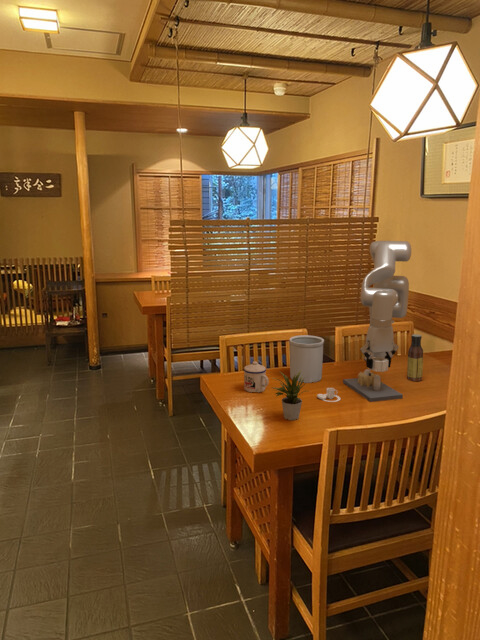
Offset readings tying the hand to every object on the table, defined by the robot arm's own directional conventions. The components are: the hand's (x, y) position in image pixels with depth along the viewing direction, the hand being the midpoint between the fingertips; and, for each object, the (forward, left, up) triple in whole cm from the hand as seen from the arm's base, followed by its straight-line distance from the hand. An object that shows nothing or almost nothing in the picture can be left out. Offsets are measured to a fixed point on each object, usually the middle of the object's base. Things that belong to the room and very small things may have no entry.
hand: (378, 366), depth 180 cm
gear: (0, 0, -1) cm, 1 cm away
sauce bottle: (-11, +25, -11) cm, 30 cm away
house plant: (+11, -41, -11) cm, 44 cm away
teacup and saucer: (-4, -21, -12) cm, 24 cm away
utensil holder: (-25, -20, -11) cm, 34 cm away
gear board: (-4, 0, -11) cm, 12 cm away
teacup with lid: (-16, -45, -11) cm, 49 cm away
